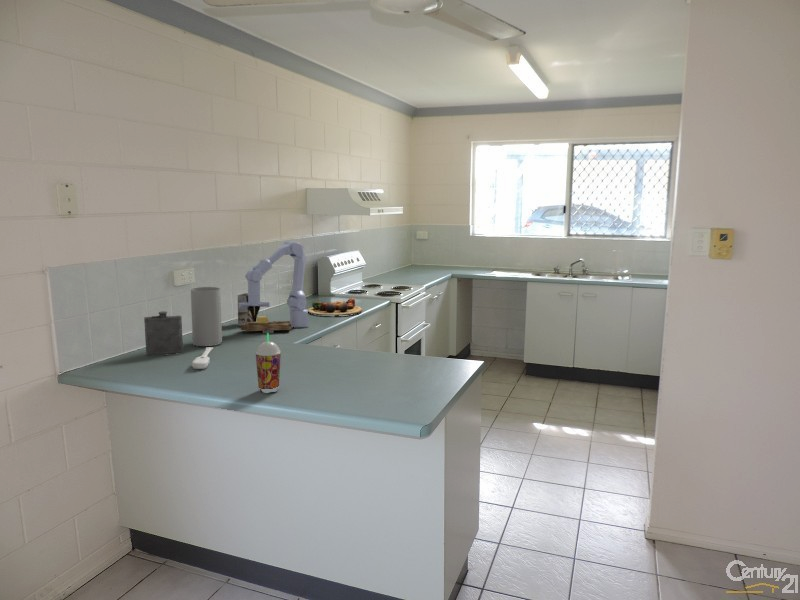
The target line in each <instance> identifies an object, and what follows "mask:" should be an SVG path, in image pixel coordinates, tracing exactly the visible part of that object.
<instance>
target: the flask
mask: <svg viewBox="0 0 800 600" xmlns="http://www.w3.org/2000/svg"><path fill="white" fill-rule="evenodd" d="M167 314H168V311H167V310H166V311H163V310H162V311H158V315H154V316H153V315H152V316H145V317H143V318H144V336H145V337H144V340H145V355H146V356H167V355H166V354H171V355H177V354H176V353H181V354H183V353H184V347H183V346H184V343H183V321H182V320H183V319H182V315H168V316H167ZM182 352H183V353H182Z"/></svg>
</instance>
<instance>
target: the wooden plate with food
mask: <svg viewBox="0 0 800 600" xmlns="http://www.w3.org/2000/svg"><path fill="white" fill-rule="evenodd" d="M307 309H308V312H309V313H312V314H316V315H335V316H339V315H351V314H357V313H359V314H361V313H362V312H363V308H362V307H360V306H359V305H358V306H357V305H356V300H355V298H354V297H351V298H348V300H346V301H345V300H344V301H339V300H338V301H332V302H327V303H326V302H325V301H323V302H320V300H316V301H313V302H312V305H311V307H310V308H307ZM313 310H314V311H313ZM360 312H361V313H360ZM309 313H308V314H309ZM357 315H358V314H357Z"/></svg>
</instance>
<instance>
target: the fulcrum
mask: <svg viewBox="0 0 800 600" xmlns="http://www.w3.org/2000/svg"><path fill="white" fill-rule="evenodd" d="M267 333H269V335H271V334H274V330H265V331H262V334H264V335H265V334H266V335H267Z"/></svg>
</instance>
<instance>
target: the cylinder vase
mask: <svg viewBox="0 0 800 600" xmlns="http://www.w3.org/2000/svg"><path fill="white" fill-rule="evenodd" d="M221 291H222V290H221V288H220V287H217V286H198V287H192V288H190V303H191V304H190V306H191V307H190V308H191V309H190V311H191V331H192V332H191V333H192V345H193V346H195V345H196V346H195V347H198V346H209V345H215V344H218V343H221V342H222V343H223V332H222V331H223V330H222V329H223V328H222V298H221V297H222V296H221V295H222V293H221ZM222 343H221V344H222Z"/></svg>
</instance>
